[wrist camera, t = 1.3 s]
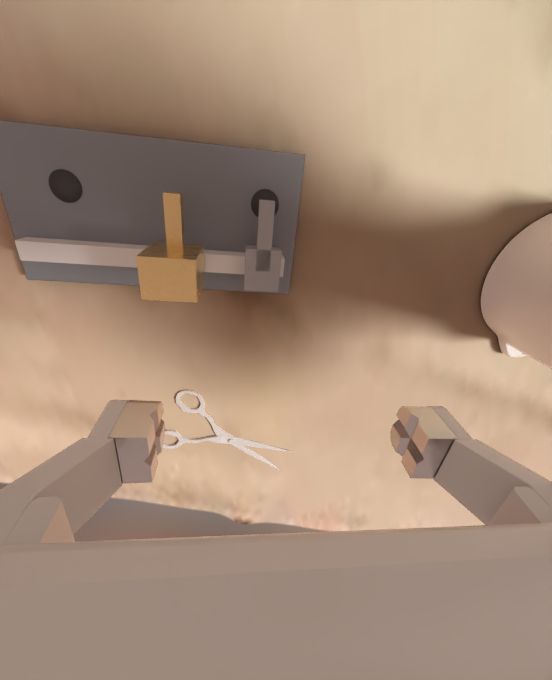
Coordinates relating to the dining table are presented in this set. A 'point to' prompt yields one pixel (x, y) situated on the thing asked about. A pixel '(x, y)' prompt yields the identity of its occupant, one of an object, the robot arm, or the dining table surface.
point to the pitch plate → (147, 205)
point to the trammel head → (172, 260)
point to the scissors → (220, 433)
